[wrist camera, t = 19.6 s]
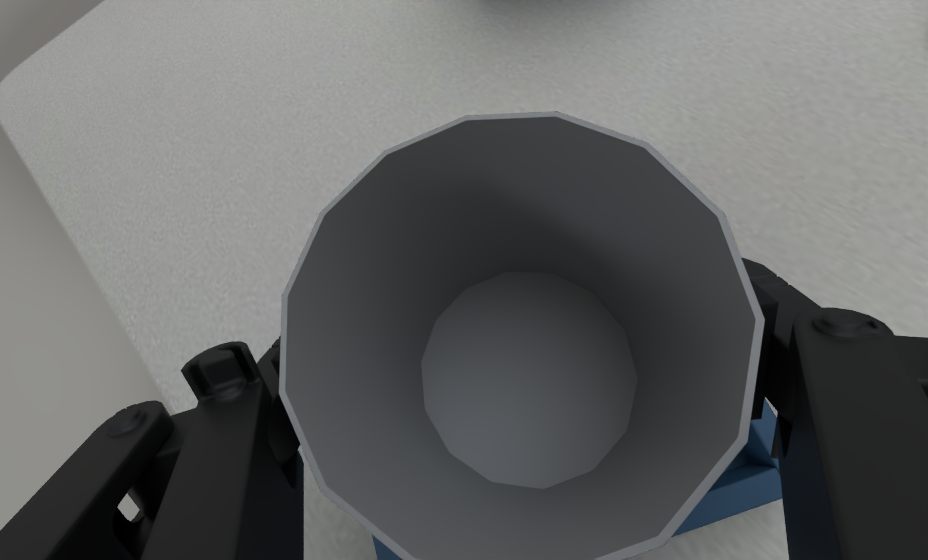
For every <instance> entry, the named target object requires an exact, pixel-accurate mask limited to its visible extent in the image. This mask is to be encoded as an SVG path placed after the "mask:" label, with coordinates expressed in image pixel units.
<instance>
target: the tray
mask: <svg viewBox="0 0 928 560" xmlns="http://www.w3.org/2000/svg"><path fill="white" fill-rule="evenodd" d="M776 421H777V418H776V416H775V414H774V413H773V411H772V409H771V408H770V406H769V404H768V403H767V401H766V399H764V406H763V413H762V419H757V420H750V427H749V434H748V441H747V443H746V444H745V446H744V447H743V448H742V449H741V451H740V452H739V453H738V454H737V456H736V457H735V458H734V459H733V461H732V462H731V463H730V464H729V465H728V467H727V468H726V469H725V470H724V472H723V473H722V474H721V475H720V477H719V478H718V479H717V480H716V482H715V483H714V484H713V485H712V487H711V488H710V489H709V490H708V491H707V493H706V494H705V495H704V496H703V498H702V499H701V500H700V501H699V503H698V504H697V505H696V506H695V508H694V509H693V510H692V511H691V513H690V514H689V515H688V516H687V518H686V519H685V520H684V521H683V522H682V524H681V525H680V526H679V527H678V529H677V530H676V531H675V532H674V534H673V535H672V536H671V537H674V536H676V535H679V534H682V533H685V532H688V531H691V530H693V529H696V528H699V527H702V526H705V525H708V524H710V523H713V522H716V521H719V520H722V519H725V518H728V517H730V516H733V515H736V514H739V513H742V512H745V511H747V510H750V509H753V508H756V507H759V506H762V505H764V504H767V503H770V502H773V501H776V500H779V499H782V489H781V480H780V470H779V461H778V458H777V459H774V458H770V456H771V450H772V444H773V438H774V432H775V426H776ZM372 536H373V540H374V544H375V549H376V553H377V558H378V560H403V559H401V558H400V557H399V556H398V555H397V554H395V553H394V552H393V551H392V550H391V549H389V548H388V547H387V546H386V545H385V544H383V543H382V542H381V541H380V540H378V539H377V538H376V537H375V536H374V535H372ZM671 537H670V538H671Z"/></svg>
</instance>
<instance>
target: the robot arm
mask: <svg viewBox="0 0 928 560" xmlns="http://www.w3.org/2000/svg"><path fill="white" fill-rule="evenodd" d="M742 261H743V264H744V266H745V269H746V272H747V274H748V277H749V279H750V282H751V285H752V287H753V290H754V293H755V295H756V298H757V300H758V303H759V306H760V308H761V311H762V314H763V316H764V319H765V322H764V329H763V336H762V343H761V350H760V357H759V364H758V371H757V378H756V385H755V392H754V399H753V406H752V413H751V420H757V419H762V413H763V406H764V399H765V397H766V398H767V399H768V400H769V401H770V403H771V404H772V405H773V406H774V408H775V409H776V410H777V411H778V415H777V421H776V426H775V432H774V438H773V444H772V450H771V456H770V458H774V459H777V458H778V461H779V470H780V480H781V489H782V498H783V507H784V516H785V525H786V534H787V544H788V553H789V560H928V338H923V337H907V336H896V335H894V334H893V332H892V331H891V330H890V329H889V328H888V327H887V326H886V325H885V323H883V322H881V321H879V320H877V319H875V318H873V317H871V316H869V315H866V314H863V313H859V312H856V311H852V310H846V309H839V308H821V307H820V306H819V305H817V304H816V303H815V302H813V301H812V300H810V299H809V298H808V297H806V296H805V295H804V294H802V293H801V292H800V291H798V290H797V289H795V288H794V287H793V286H791V285H788V283H787V282H786V281H784V280H783V279H782V278H780V277H777V276H776V274H775V273H773V272H772V271H771V270H769V269H768V268H767V267H765V266H764V265H762V264H759V263H756V262H753V261H751V260H748V259H745V258H742ZM280 343H281V335H280V337H279V339H277V340H276V341H275V342H274V344H273V345H272V348H269V350H268V351H267V352H266V353H265V354H264V355H263V357H262V358H261V359H260V360H259V361H258V363H257V364H256V362H255V360H254V358H253V356H252V354H251V352H250V350H249V348H248V345H247V344H246V343H244V342H241V341H237V342H228V343H224V344H220V345H217V346H215V347H212V348H210V349H207V350H206V351H204V352H202V353H200V354H198V355H197V356H195V357H194V358H193V359H191V360H190V361H189V362H187V363H186V364H185V366H184V367H183V368H182V370H181V372H182V373H183V375H184V377H185V379H186V380H187V382H188V384H189V385H190V387H191V389H192V391H193V392H194V394H195V396H196V398H197V399H198V401H199V402H198V405H197V407H196V408H194V409H191V410H188V411H185V412H181V413H178V414H175V415H172V416H170V415H169V413H168V412H167V410H166V408H165V407H164V405H163V404H162V403H161V402H158V401H146V402H143V403H139V404H134V405H131V406H129V407H127V409H122V410H121V411H119V412H117V413H116V414H115V415H114V416H113V417H111V418H109V419H108V420H106V421H105V422H104V423H103V424H102V425H101V426H100V427H98V428H97V429H96V430H95V431H94V432H93V433H92V434H91V436H90V437H89V438H88V439H87V440H86V441H85V442H84V443H83V444H82V445H81V446H80V447H79V448H78V449H77V450H76V451H75V452H74V453H73V455H72V456H71V457H70V458H69V459H68V460H67V461H66V462H65V463H64V464H63V465H62V466H61V467H60V468H59V469H58V470H57V471H56V473H55V474H54V475H53V476H52V477H51V478H50V479H49V480H48V481H47V482H46V483H45V484H44V485H43V486H42V487H41V488H40V489H39V490H38V492H37V493H36V494H35V495H34V496H33V497H32V498H31V499H30V500H29V501H28V502H27V503H26V504H25V505H24V506H23V508H21V509H20V511H19V512H18V513H17V514H16V515H15V516H14V517H13V518H12V519H11V520H10V521H9V522H8V523H7V524H6V525H5V527H3V529H2V530H1V531H0V560H304V463H303V460H302V457H301V455H300V453H299V451H298V448H299V446H300V442H299V439H298V437H297V435H296V432H295V430H294V428H293V425H292V423H291V421H290V418H289V416H288V414H287V411H286V409H285V407H284V404H283V402H282V400H281V397H280V395H279V376H280ZM127 493H128V495H129V496H130V497H131V499H132V500H133V501H134V503H135V504H136V505H137V507H138V508H139V509H140V510H139V512H138V513H137V515H136V516H135V518H134V519H133V520H132V521H129V520H127V519H126V518H125V517H124V515H123V514H122V513H121V511H120V510H119V509H118V508H117V507H118V505H119V503H120V502H121V500H122V499H123V498H124V496H125V495H126V494H127Z"/></svg>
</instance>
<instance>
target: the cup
mask: <svg viewBox="0 0 928 560" xmlns="http://www.w3.org/2000/svg"><path fill="white" fill-rule="evenodd" d="M764 322H765V319H764V316H763V314H762V311H761V308H760V306H759V303H758V300H757V298H756V295H755V293H754V290H753V287H752V285H751V282H750V279H749V277H748V274H747V272H746V269H745V266H744V264H743V261H742V258H741V256H740V253H739V251H738V248H737V245H736V243H735V240H734V237H733V235H732V232H731V229H730V227H729V224H728V222H727V219H726V216H725V214H724V213H723V212H722V211H721V210H720V209H719V208H718V207H717V206H716V205H715V204H714V203H712V202H711V201H710V200H709V199H708V198H707V197H706V196H705V195H704V194H703V193H702V192H701V191H699V190H698V189H697V188H696V187H695V186H694V185H693V184H692V183H691V182H690V181H689V180H688V179H687V178H685V177H684V176H683V175H682V174H681V173H680V172H679V171H678V170H677V169H676V168H675V167H674V166H673V165H671V164H670V163H669V162H668V161H667V160H666V159H665V158H664V157H663V156H662V155H661V154H660V153H658V152H657V151H656V150H655V149H654V148H653V147H652V146H651V145H650V144H649V143H647V142H644V141H641V140H638V139H635V138H632V137H630V136H627V135H624V134H621V133H618V132H615V131H612V130H609V129H607V128H604V127H601V126H598V125H595V124H592V123H589V122H586V121H583V120H581V119H578V118H575V117H572V116H569V115H566V114H563V113H560V112H557V111H554V112H532V113H511V114H489V115H467V116H464V117H461V118H459V119H457V120H454V121H452V122H450V123H447V124H445V125H443V126H440V127H438V128H436V129H434V130H431V131H429V132H427V133H424V134H422V135H420V136H417V137H415V138H413V139H410V140H408V141H406V142H403V143H401V144H399V145H396V146H394V147H392V148H390V149H387V150H385V151H384V152H382V153H381V154H380V155H379V156H378V157H377V158H376V159H375V160H374V161H373V162H372V163H371V164H370V165H369V166H368V167H367V168H366V169H365V170H364V171H363V172H362V173H361V174H360V175H359V176H358V177H357V178H356V179H354V180H353V181H352V182H351V183H350V184H349V185H348V186H347V187H346V188H345V189H344V190H343V191H342V192H341V193H340V194H339V195H338V196H337V197H336V198H335V199H334V200H333V201H332V202H331V203H330V204H329V205H328V206H327V207H325V208H324V209H323V210H322V211H321V212H320V214H319V216H318V219H317V221H316V223H315V225H314V227H313V229H312V232H311V234H310V236H309V238H308V240H307V243H306V245H305V247H304V249H303V251H302V253H301V256H300V258H299V260H298V262H297V264H296V266H295V269H294V271H293V273H292V275H291V277H290V280H289V282H288V284H287V286H286V288H285V290H284V293H283V295H282V311H281V343H280V376H279V395H280V397H281V400H282V402H283V404H284V407H285V409H286V411H287V414H288V416H289V418H290V421H291V423H292V425H293V428H294V430H295V432H296V435H297V437H298V439H299V442H300V444H301V446H302V449H303V451H304V453H305V456H306V458H307V460H308V463H309V465H310V467H311V470H312V472H313V474H314V477H315V479H316V481H317V484H318V486H319V488H320V491H321V492H322V493H323V494H324V495H325V496H327V497H328V498H329V499H330V500H331V501H333V502H334V503H335V504H336V505H337V506H339V507H340V508H341V509H342V510H344V511H345V512H346V513H347V514H348V515H350V516H351V517H352V518H353V519H354V520H356V521H357V522H358V523H359V524H360V525H362V526H363V527H364V528H365V529H366V530H368V531H369V532H370V533H371V534H372V535H374V536H375V537H376V538H377V539H378V540H380V541H381V542H382V543H383V544H385V545H386V546H387V547H388V548H389V549H391V550H392V551H393V552H394V553H395V554H397V555H398V556H399V557H400V558H401V559H403V560H624V559H627V558H630V557H632V556H635V555H638V554H641V553H643V552H646V551H649V550H652V549H655V548H657V547H660V546H663V545H665V544H666V542H667V541H668V540H669V539H670V537H671V536H672V535H673V534H674V532H675V531H676V530H677V529H678V527H679V526H680V525H681V524H682V522H683V521H684V520H685V519H686V518H687V516H688V515H689V514H690V513H691V511H692V510H693V509H694V508H695V506H696V505H697V504H698V503H699V501H700V500H701V499H702V498H703V496H704V495H705V494H706V493H707V491H708V490H709V489H710V488H711V487H712V485H713V484H714V483H715V482H716V480H717V479H718V478H719V477H720V475H721V474H722V473H723V472H724V470H725V469H726V468H727V467H728V465H729V464H730V463H731V462H732V461H733V459H734V458H735V457H736V456H737V454H738V453H739V452H740V451H741V449H742V448H743V447H744V446H745V444H746V443H747V441H748V434H749V427H750V420H751V413H752V406H753V399H754V392H755V385H756V378H757V371H758V364H759V357H760V350H761V343H762V336H763V329H764Z"/></svg>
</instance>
